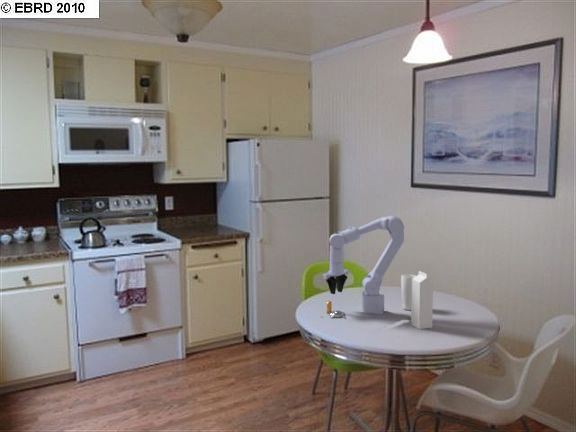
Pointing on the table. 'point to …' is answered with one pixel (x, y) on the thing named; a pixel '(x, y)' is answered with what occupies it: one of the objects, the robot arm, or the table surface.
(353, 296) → the table surface
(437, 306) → the table surface
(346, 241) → the robot arm
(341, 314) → the dial
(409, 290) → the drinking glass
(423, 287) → the milk
